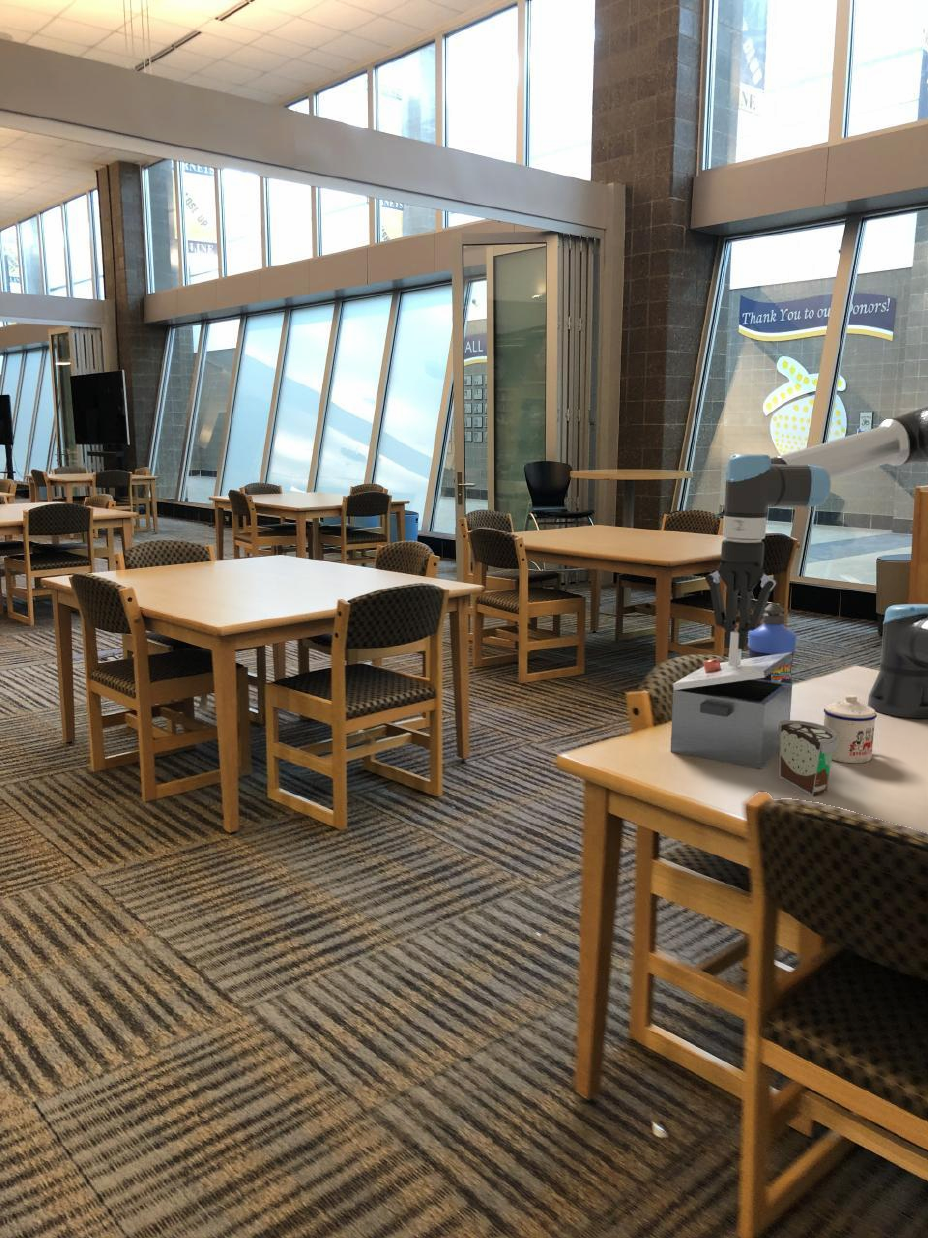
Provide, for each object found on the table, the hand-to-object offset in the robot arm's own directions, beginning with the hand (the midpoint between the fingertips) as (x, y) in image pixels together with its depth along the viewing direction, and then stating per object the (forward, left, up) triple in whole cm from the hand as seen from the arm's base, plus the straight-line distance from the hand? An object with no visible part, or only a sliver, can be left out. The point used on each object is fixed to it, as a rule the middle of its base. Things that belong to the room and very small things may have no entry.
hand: (734, 665), depth 181 cm
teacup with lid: (-20, -9, -17) cm, 28 cm away
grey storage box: (0, 0, -16) cm, 16 cm away
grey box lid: (0, 0, -2) cm, 2 cm away
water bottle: (-1, -20, -17) cm, 26 cm away
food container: (-18, +11, -17) cm, 27 cm away
